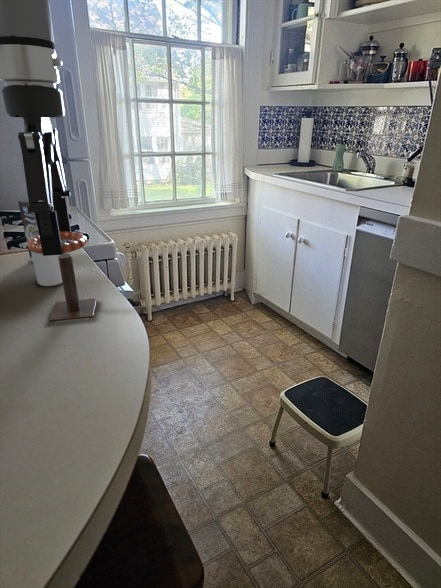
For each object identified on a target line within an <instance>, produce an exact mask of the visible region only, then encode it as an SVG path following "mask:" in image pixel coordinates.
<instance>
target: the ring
mask: <svg viewBox="0 0 441 588" xmlns="http://www.w3.org/2000/svg"><path fill="white" fill-rule="evenodd" d="M60 238H61V240H66V241H70V242H66V243H65V244H62V250H63V253H67V252H68V253H72V252H75V251H78V250H80V249H82V248H83V247H85V246H86V244H87V242H88V238H87V236H85V235H84V234H83V233H81V232H77V231H71V232H69V231H60ZM26 247H27V249H28V248H29V249H30V251H32V252H35V253H39V254H43V253H42V248H41V242H40V237H39V235H37V236H35V237H33V238H31V239H30V240H29V241H28V242H26Z"/></svg>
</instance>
